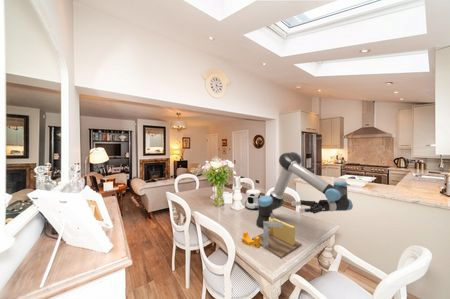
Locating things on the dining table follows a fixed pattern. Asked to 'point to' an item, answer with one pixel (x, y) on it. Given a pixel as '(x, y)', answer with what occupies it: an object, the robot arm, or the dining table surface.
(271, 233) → the hinged door
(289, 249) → the board
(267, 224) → the hook
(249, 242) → the pipe clamp
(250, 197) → the white rounded appliance
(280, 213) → the dining table surface
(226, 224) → the dining table surface
